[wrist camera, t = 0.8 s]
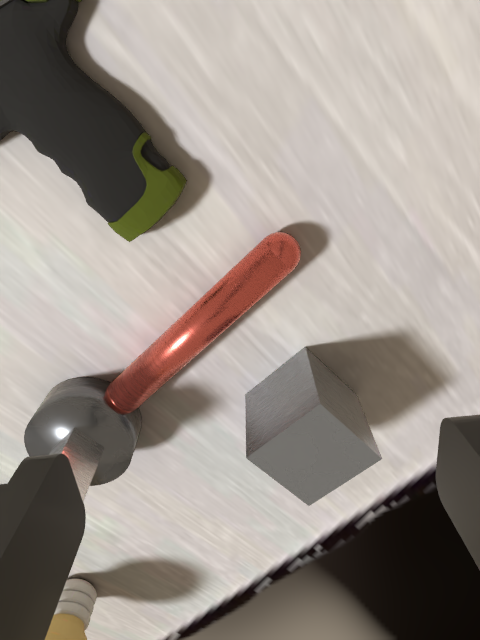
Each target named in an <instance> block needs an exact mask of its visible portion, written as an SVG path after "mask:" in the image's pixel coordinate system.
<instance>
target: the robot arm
mask: <svg viewBox="0 0 480 640" xmlns="http://www.w3.org/2000/svg"><path fill="white" fill-rule="evenodd" d="M436 484H437V489H438V493H439V496H440V499H441V502H442V504H443V506H444V508H445V510H446V511H447V513H448V515H449V517H450V518H451V520H452V522H453V524H454V525H455V527H456V529H457V531H458V532H459V534H460V536H461V538H462V539H463V541H464V543H465V545H466V547H467V548H468V550H469V552H470V554H471V555H472V557H473V559H474V561H475V563H476V564H477V566H478V568H479V570H480V415H472V416H461V417H451V418H444V419H443V420H442V422H441V427H440V436H439V446H438V457H437V467H436ZM84 529H85V507H84V504H83V501H82V498H81V495H80V492H79V489H78V486H77V483H76V480H75V477H74V474H73V471H72V468H71V465H70V462H69V459H68V457H67V456H66V455H65V454H52V455H42V456H31V457H27V458H25V459H24V460H23V461H22V462H21V464H20V465H19V467H18V468H17V470H16V471H15V473H14V474H13V476H12V478H11V479H10V481H9V482H8V484H1V485H0V640H45V638H46V635H47V632H48V629H49V627H50V624H51V621H52V619H53V616H54V613H55V611H56V608H57V605H58V602H59V600H60V597H61V594H62V592H63V589H64V586H65V583H66V581H67V578H68V575H69V573H70V570H71V567H72V565H73V562H74V559H75V556H76V554H77V551H78V548H79V546H80V543H81V540H82V537H83V534H84Z"/></svg>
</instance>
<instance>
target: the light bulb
mask: <svg viewBox="0 0 480 640" xmlns="http://www.w3.org/2000/svg"><path fill="white" fill-rule="evenodd" d="M96 598H97V593H96V590H95V589H94V587H93V586H92V585H91V584H90V583H89V582H87V581H85V580H82V579H69V580H67V581H66V583H65V586H64V589H63V592H62V594H61V597H60V600H59V602H58V605H57V608H56V611H55V613H54V616H53V619H52V621H51V624H50V627H49V629H48V632H47V635H46V638H45V640H87V638H86V635H85V632H84V630H86V629H87V627H88V625H89V622H90V616H91V614H92V612H93V608H94V604H95V601H96Z"/></svg>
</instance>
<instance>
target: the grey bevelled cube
mask: <svg viewBox="0 0 480 640" xmlns="http://www.w3.org/2000/svg"><path fill="white" fill-rule="evenodd" d="M245 397H246V458H247V459H248V460H250V461H251V462H252V463H253V464H255V465H256V466H257V467H259V468H260V469H261V470H263V471H264V472H265V473H267V474H268V475H269V476H270V477H272V478H273V479H274V480H276V481H277V482H278V483H280V484H281V485H282V486H284V487H285V488H286V489H287V490H289V491H290V492H291V493H293V494H294V495H295V496H297V497H298V498H299V499H301V500H302V501H303V502H304V503H306V504H307V505H308V506H310V505H311V504H313V503H314V502H316V501H317V500H319V499H321V498H322V497H324V496H325V495H327V494H328V493H330V492H331V491H333V490H335V489H336V488H338V487H339V486H341V485H342V484H344V483H345V482H347V481H349V480H350V479H352V478H353V477H355V476H356V475H358V474H359V473H361V472H362V471H364V470H366V469H367V468H369V467H370V466H372V465H373V464H375V463H376V462H378V461H380V460H381V459H382V457H381V455H380V452H379V450H378V447H377V445H376V442H375V440H374V437H373V435H372V432H371V430H370V427H369V424H368V422H367V419H366V417H365V414H364V412H363V409H362V407H361V404H360V402H359V399H358V397H357V395H356V394H355V393H354V392H353V391H352V390H351V389H350V388H349V387H348V386H346V385H345V384H344V383H343V382H342V381H341V380H340V379H339V378H338V377H337V376H336V375H335V374H334V373H333V372H332V371H331V370H329V369H328V368H327V367H326V366H325V365H324V364H323V363H322V362H321V361H320V360H319V359H318V358H317V357H316V356H315V355H314V354H312V353H311V352H310V351H309V350H308V349H307V348H306V347H305V348H303V349H302V350H301V351H300V352H298V353H297V354H296V355H295V356H293V357H292V358H291V359H290V360H288V361H287V362H286V363H285V364H283V365H282V366H281V367H280V368H278V369H277V370H276V371H275V372H273V373H272V374H271V375H270V376H268V377H267V378H266V379H265V380H263V381H262V382H261V383H260V384H258V385H257V386H256V387H255V388H253V389H252V390H251V391H250V392H248V393H247V394H246V395H245Z"/></svg>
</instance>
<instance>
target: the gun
mask: <svg viewBox="0 0 480 640" xmlns="http://www.w3.org/2000/svg"><path fill="white" fill-rule="evenodd" d="M76 1H78V2H81V1H82V0H75V1H74V0H0V140H1V139H3V138H4V137H5V136H6V135H7V134H8V133H10V132H11V131H17V132H20V133H21V134H23V135H25V136H26V137H27V138H28V139H29V140H30V141H31V142H32V143H33V145H34V146H35V148H36V149H37V151H38V152H40V153H41V154H43V155H46V156H48V157H50V158H51V159H53V160H54V161H55V162H56V164H57V165H58V167H59V168H60V170H61V172H62V173H64V174H65V175H67V176H69V177H71V178H72V179H73V180H75V181H76V182H77V183H78V185H79V186H80V188H81V189H82V191H83V194H84V196H85V198H86V202H87V203H88V205H89V206H90V207H92V208H93V209H94V210H95V211H97V212H98V213H99V214H100V215H101V216H102V217H103V218H104V219H105V220H106V221H107V222H108V225H109V226H110V227H111V228H112V229H113V230H114V231H115V232H116V233H117V234H119V235H120V236H122V237H123V238H125V239H126V240H127V241H129V242H130V241H132V240H134V239H135V238H136V237H138V236H139V235H140V234H142V233H144V232H145V231H147V230H148V229H150V228H151V227H152V226H153V225H154V224H155V223H157V222H158V221H159V220H160V219H161V218H162V217H163V216H164V215H165V214H166V212H167V211H168V210H169V209H170V208H171V207H172V206H173V205H174V204H175V202H176V201H177V199H178V197H179V196H180V194H181V193H182V191H183V189H184V186H185V184H186V181H187V180H186V179H185V178H184V176H183V175H182V174H181V172H180V171H179V170H178V169H177V168H175V167H174V166H170V165H169V163H168V162H167V161H166V159H164V158H163V157H162V156H161V155H160V154H159V153H158V152H157V151H156V149H155V148H154V146H153V144H152V142H151V136H149V135H148V134H147V133H146V132H145V130H144V129H143V127H142V126H141V125H140V123H139V122H138V121H137V119H136V118H135V117H134V116H133V115H132V113H131V112H130V111H129V110H128V109H127V108H126V107H125V106H124V105H123V104H122V103H121V102H119V101H118V100H117V99H116V98H115V97H114V96H112V95H111V94H110V93H109V92H108V91H106V90H105V89H103V88H102V87H101V86H99V85H98V84H97V83H95V82H94V81H93V80H92V79H91V78H90V77H88V76H87V75H86V74H85V73H84V72H83V71H82V70H81V69H79V68H78V67H77V66H76V64H75V63H74V62H73V60H72V59H71V57H70V55H69V53H68V51H67V49H66V36H67V33H68V30H69V28H70V26H71V24H72V22H73V20H74V18H75V16H76V13H77V10H78V3H77V2H76ZM29 2H30V3H29Z"/></svg>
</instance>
